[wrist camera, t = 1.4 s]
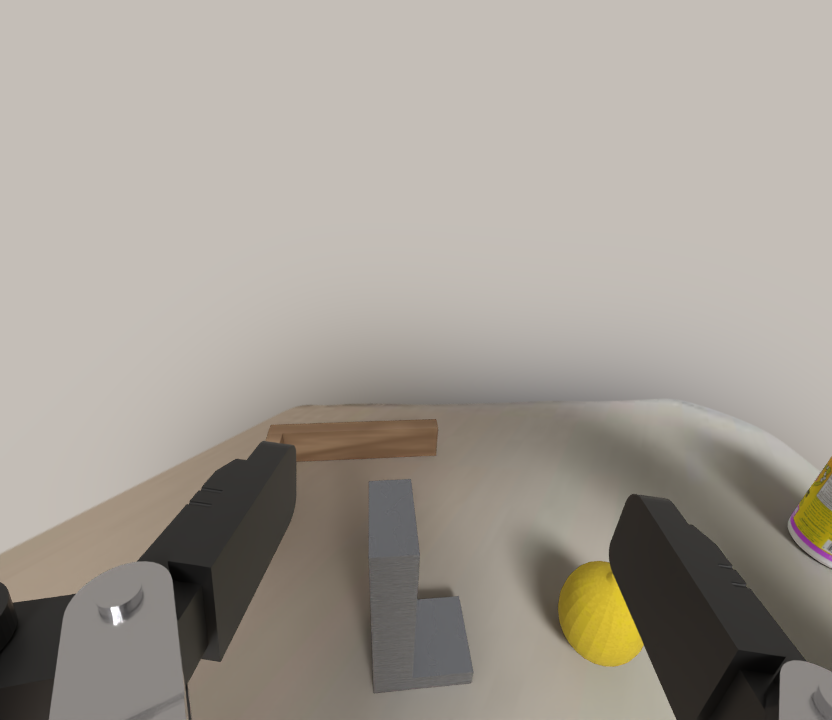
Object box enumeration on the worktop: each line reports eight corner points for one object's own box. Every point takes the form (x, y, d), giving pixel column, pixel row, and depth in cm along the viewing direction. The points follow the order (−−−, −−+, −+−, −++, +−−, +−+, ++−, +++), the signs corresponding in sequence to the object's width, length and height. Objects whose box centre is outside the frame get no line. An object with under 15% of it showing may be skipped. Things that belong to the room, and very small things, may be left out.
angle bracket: (471, 683, 27) (498, 549, 21) (373, 693, 27) (368, 558, 20) (457, 607, 32) (476, 475, 25) (373, 614, 31) (368, 481, 24)
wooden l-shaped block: (454, 549, 36) (458, 518, 34) (243, 563, 34) (235, 532, 32) (434, 446, 48) (436, 419, 46) (275, 453, 46) (270, 424, 44)
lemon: (552, 594, 33) (574, 528, 29) (627, 622, 31) (661, 556, 27) (544, 666, 28) (569, 600, 24) (631, 704, 27) (673, 639, 23)
